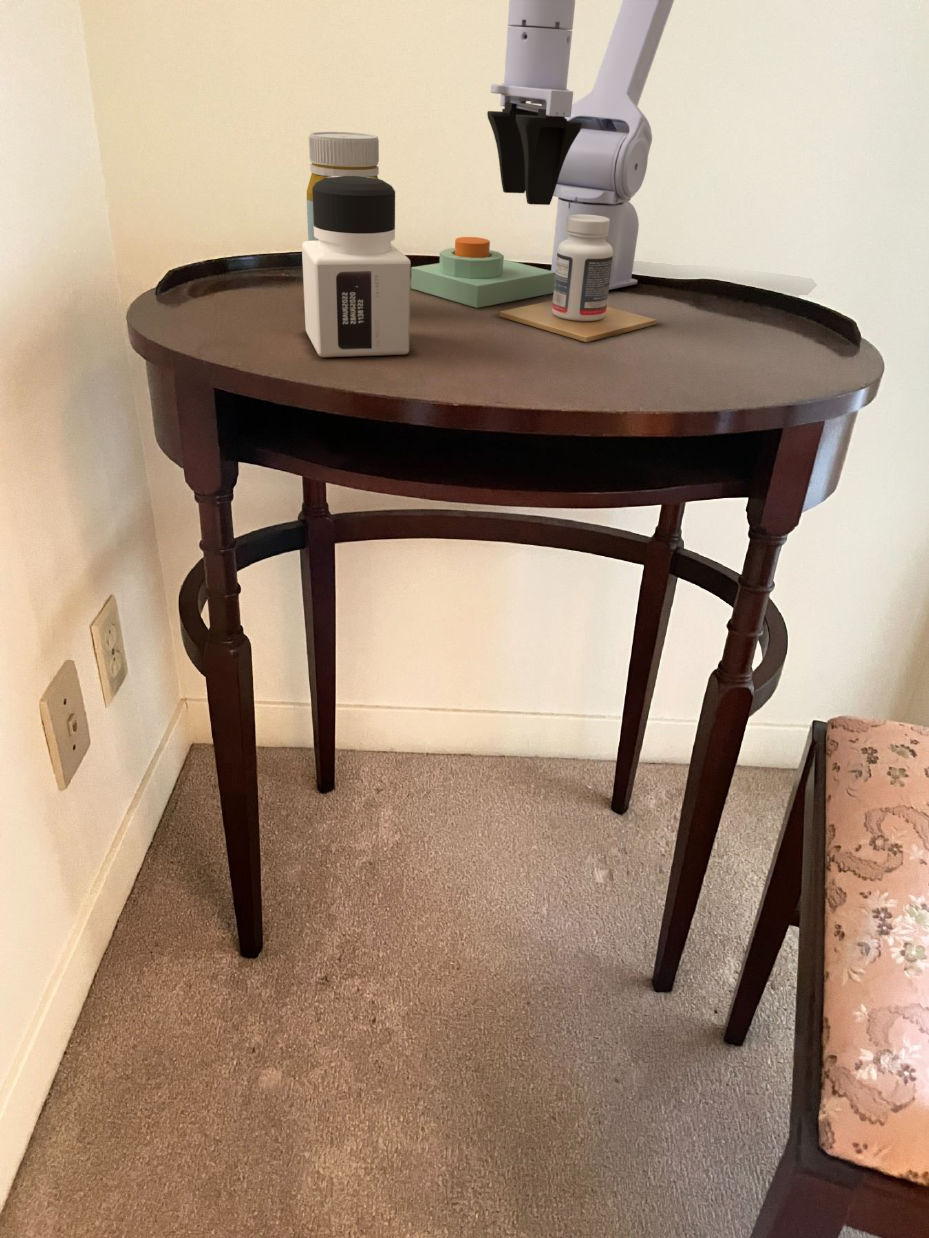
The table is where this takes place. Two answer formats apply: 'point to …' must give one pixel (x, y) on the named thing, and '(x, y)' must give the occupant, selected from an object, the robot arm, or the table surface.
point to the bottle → (339, 161)
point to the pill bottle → (583, 269)
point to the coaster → (577, 322)
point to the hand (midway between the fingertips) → (525, 198)
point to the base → (481, 279)
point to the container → (355, 271)
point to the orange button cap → (472, 247)
